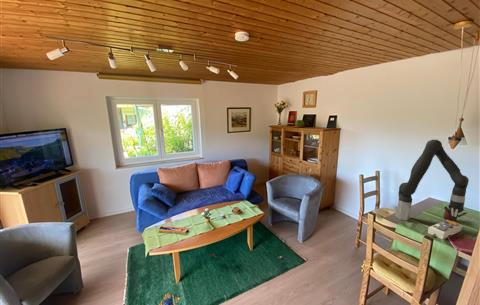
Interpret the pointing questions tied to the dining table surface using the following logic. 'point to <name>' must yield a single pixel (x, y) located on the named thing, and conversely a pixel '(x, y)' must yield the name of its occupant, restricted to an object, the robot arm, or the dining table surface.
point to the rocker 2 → (453, 222)
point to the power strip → (444, 234)
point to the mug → (447, 215)
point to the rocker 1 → (442, 227)
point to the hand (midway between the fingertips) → (453, 220)
